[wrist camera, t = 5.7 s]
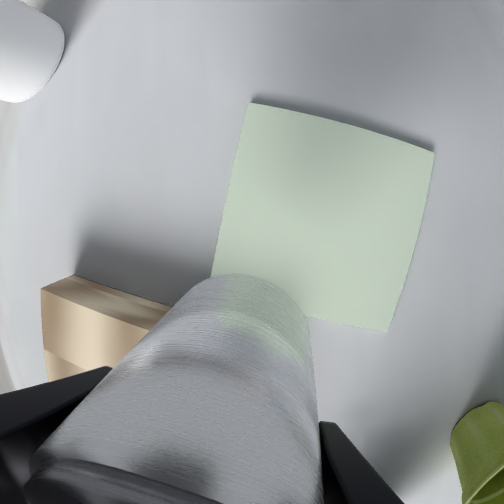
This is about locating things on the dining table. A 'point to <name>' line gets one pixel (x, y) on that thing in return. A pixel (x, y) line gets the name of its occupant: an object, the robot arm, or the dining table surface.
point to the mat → (324, 213)
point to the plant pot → (480, 454)
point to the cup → (27, 50)
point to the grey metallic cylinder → (197, 410)
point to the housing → (91, 325)
